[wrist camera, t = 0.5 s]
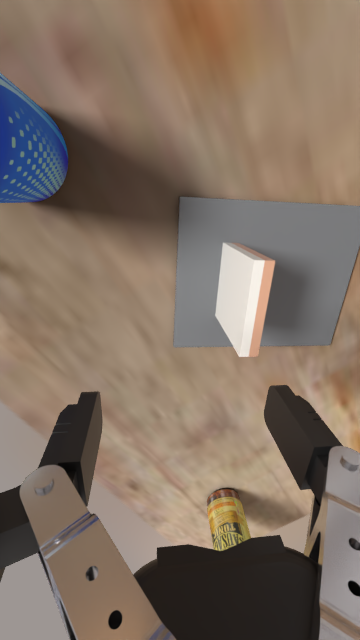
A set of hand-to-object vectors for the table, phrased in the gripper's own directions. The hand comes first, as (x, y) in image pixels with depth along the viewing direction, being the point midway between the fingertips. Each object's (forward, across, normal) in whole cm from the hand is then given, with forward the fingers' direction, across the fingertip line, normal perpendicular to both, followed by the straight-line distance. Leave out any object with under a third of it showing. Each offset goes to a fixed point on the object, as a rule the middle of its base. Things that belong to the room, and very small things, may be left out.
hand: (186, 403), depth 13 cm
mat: (+22, -13, 0) cm, 25 cm away
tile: (+21, -8, 0) cm, 23 cm away
